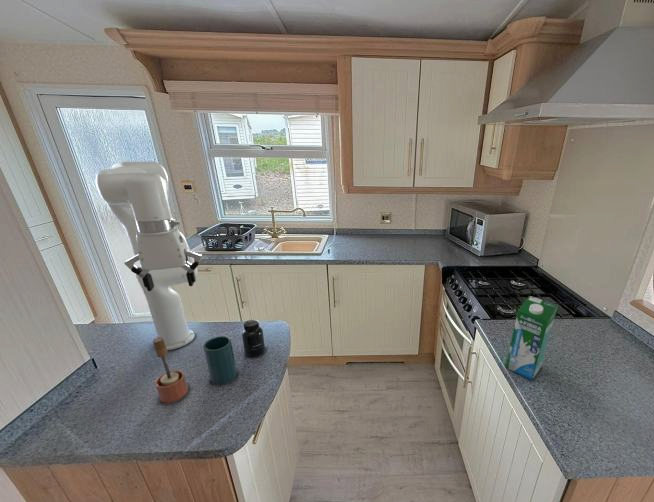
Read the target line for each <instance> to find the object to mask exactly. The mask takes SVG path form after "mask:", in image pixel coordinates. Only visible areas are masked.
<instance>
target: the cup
mask: <svg viewBox="0 0 654 502" xmlns="http://www.w3.org/2000/svg"><path fill="white" fill-rule="evenodd" d="M202 349H203V352H204V358H205V361H206V366H207V370H208V373H209V378H210V381H211V383H212V384H214V385H224V384H227V383H229V382H231V381H233V380H234V379H235V378H236V376H237V375H238V370H237V366H236V361H235V355H234V350H233V344H232V340H231V338H230V337H229V336H225V335H224V336H223V335H221V336H215V337H212V338H210V339H208V340H206V341H205V342H204V343H203V345H202Z"/></svg>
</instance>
